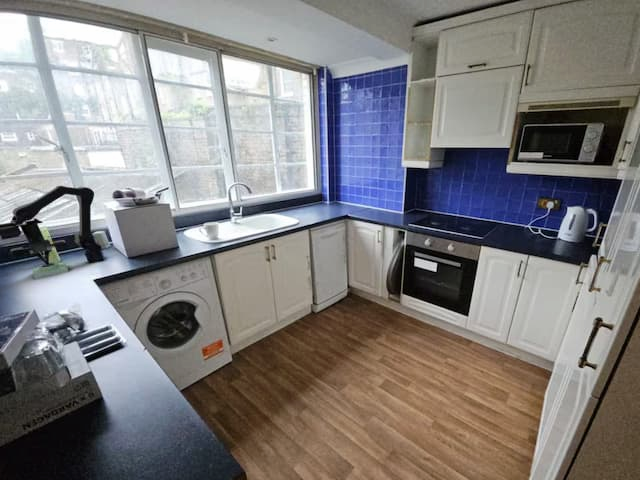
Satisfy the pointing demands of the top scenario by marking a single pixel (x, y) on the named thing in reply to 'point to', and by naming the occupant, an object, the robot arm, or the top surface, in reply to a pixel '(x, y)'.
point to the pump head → (47, 265)
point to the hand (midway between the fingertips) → (47, 264)
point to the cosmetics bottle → (101, 239)
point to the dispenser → (49, 270)
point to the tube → (53, 254)
